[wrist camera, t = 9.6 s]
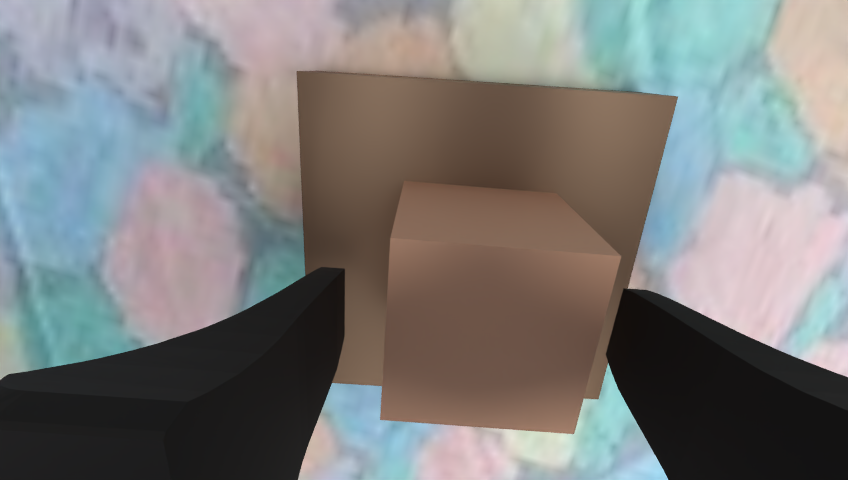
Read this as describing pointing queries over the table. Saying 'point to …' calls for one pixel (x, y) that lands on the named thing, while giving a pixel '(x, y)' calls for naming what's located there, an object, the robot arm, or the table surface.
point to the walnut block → (463, 174)
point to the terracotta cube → (492, 308)
